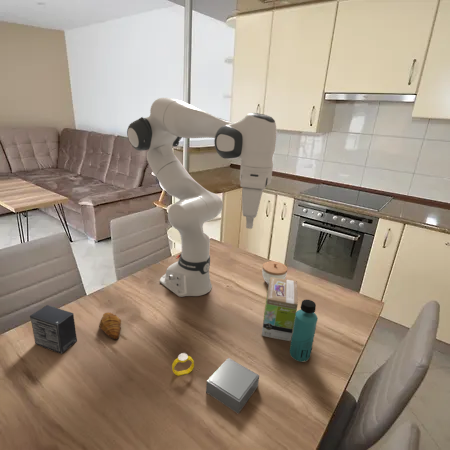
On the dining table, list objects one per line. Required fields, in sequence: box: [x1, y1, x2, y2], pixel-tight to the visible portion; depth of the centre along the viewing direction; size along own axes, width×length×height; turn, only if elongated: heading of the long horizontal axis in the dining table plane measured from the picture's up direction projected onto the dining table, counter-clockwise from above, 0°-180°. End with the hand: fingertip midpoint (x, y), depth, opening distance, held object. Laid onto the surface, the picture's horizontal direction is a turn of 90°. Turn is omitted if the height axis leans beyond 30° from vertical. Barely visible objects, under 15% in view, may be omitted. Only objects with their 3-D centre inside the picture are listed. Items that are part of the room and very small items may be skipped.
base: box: [205, 357, 260, 415], centre depth 80 cm, size 10×10×4 cm
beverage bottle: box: [289, 299, 318, 363], centre depth 90 cm, size 6×7×20 cm
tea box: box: [261, 277, 299, 342], centre depth 105 cm, size 15×10×15 cm, turn 168°
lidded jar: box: [261, 260, 288, 286], centre depth 132 cm, size 11×11×9 cm
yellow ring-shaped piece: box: [171, 352, 195, 377], centre depth 84 cm, size 6×3×6 cm, turn 109°
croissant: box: [98, 312, 122, 341], centre depth 100 cm, size 14×7×5 cm, turn 33°
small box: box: [29, 304, 78, 355], centre depth 91 cm, size 11×6×10 cm, turn 71°
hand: (250, 222), depth 89 cm, fingers open, 8 cm apart
